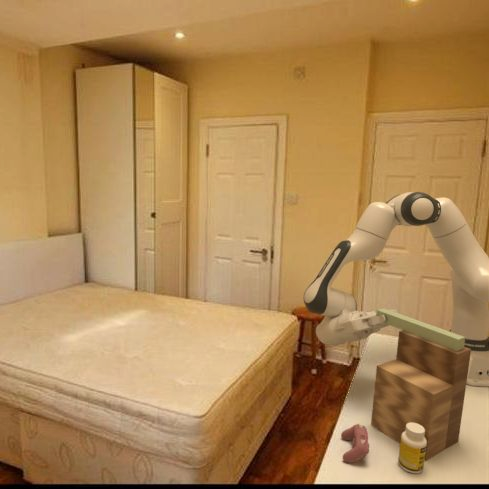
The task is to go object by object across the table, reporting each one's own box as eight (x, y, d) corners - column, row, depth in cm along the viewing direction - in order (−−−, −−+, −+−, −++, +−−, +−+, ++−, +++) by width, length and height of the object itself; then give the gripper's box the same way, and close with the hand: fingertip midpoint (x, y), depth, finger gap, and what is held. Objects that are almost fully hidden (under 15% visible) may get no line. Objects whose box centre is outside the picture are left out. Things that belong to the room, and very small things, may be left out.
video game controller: (358, 471, 92) (375, 449, 90) (340, 461, 92) (357, 438, 91) (355, 444, 101) (370, 423, 100) (339, 434, 102) (354, 414, 100)
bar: (375, 319, 116) (376, 309, 115) (382, 318, 117) (383, 308, 117) (456, 351, 96) (458, 339, 95) (463, 348, 97) (465, 337, 97)
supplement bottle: (421, 478, 89) (426, 438, 87) (395, 468, 91) (400, 429, 90) (425, 463, 93) (429, 425, 91) (400, 454, 96) (404, 417, 94)
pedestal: (371, 424, 107) (379, 336, 103) (403, 409, 115) (412, 327, 111) (425, 460, 94) (437, 361, 90) (458, 441, 102) (471, 349, 97)
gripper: (328, 321, 119) (362, 311, 108) (374, 311, 130) (408, 300, 119) (335, 342, 118) (369, 334, 107) (380, 330, 129) (416, 321, 118)
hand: (390, 316), depth 113 cm, fingers closed on bar, 3 cm apart
